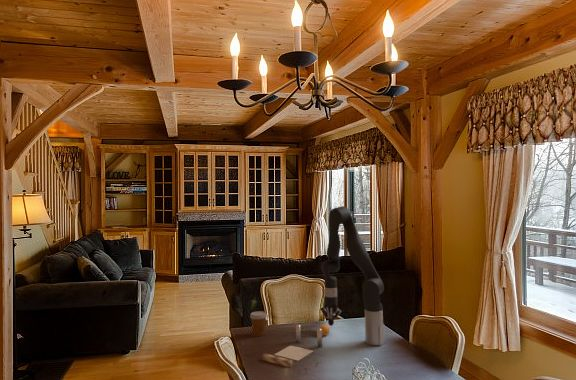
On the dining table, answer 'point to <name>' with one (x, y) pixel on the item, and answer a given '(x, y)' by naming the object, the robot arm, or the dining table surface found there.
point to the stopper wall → (278, 360)
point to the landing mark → (294, 353)
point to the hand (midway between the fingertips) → (331, 325)
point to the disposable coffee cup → (258, 322)
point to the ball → (324, 329)
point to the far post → (298, 333)
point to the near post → (319, 337)
